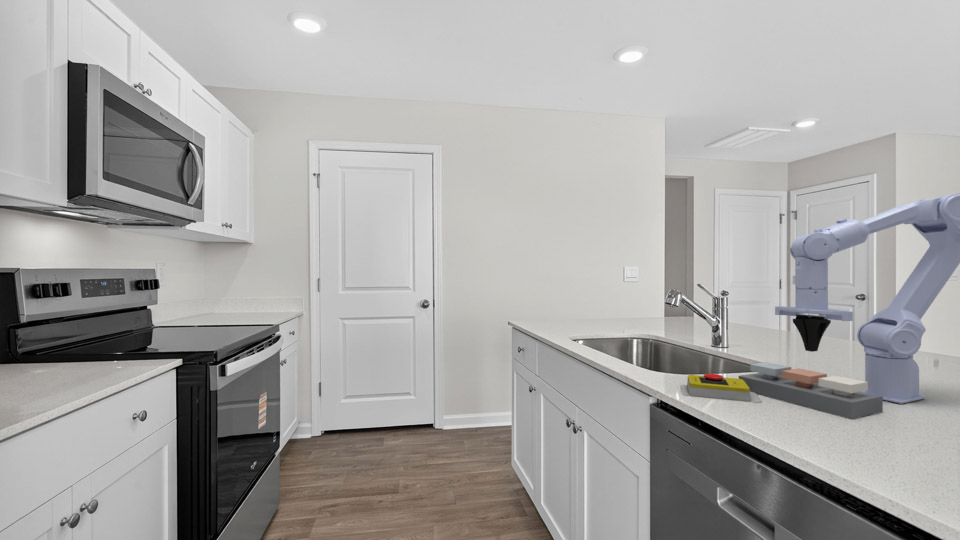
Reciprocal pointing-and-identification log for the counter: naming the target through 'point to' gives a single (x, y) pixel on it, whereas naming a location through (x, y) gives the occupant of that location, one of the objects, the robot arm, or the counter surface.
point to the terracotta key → (803, 376)
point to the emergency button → (718, 388)
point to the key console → (815, 396)
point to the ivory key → (843, 385)
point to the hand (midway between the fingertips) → (811, 350)
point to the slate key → (769, 369)
